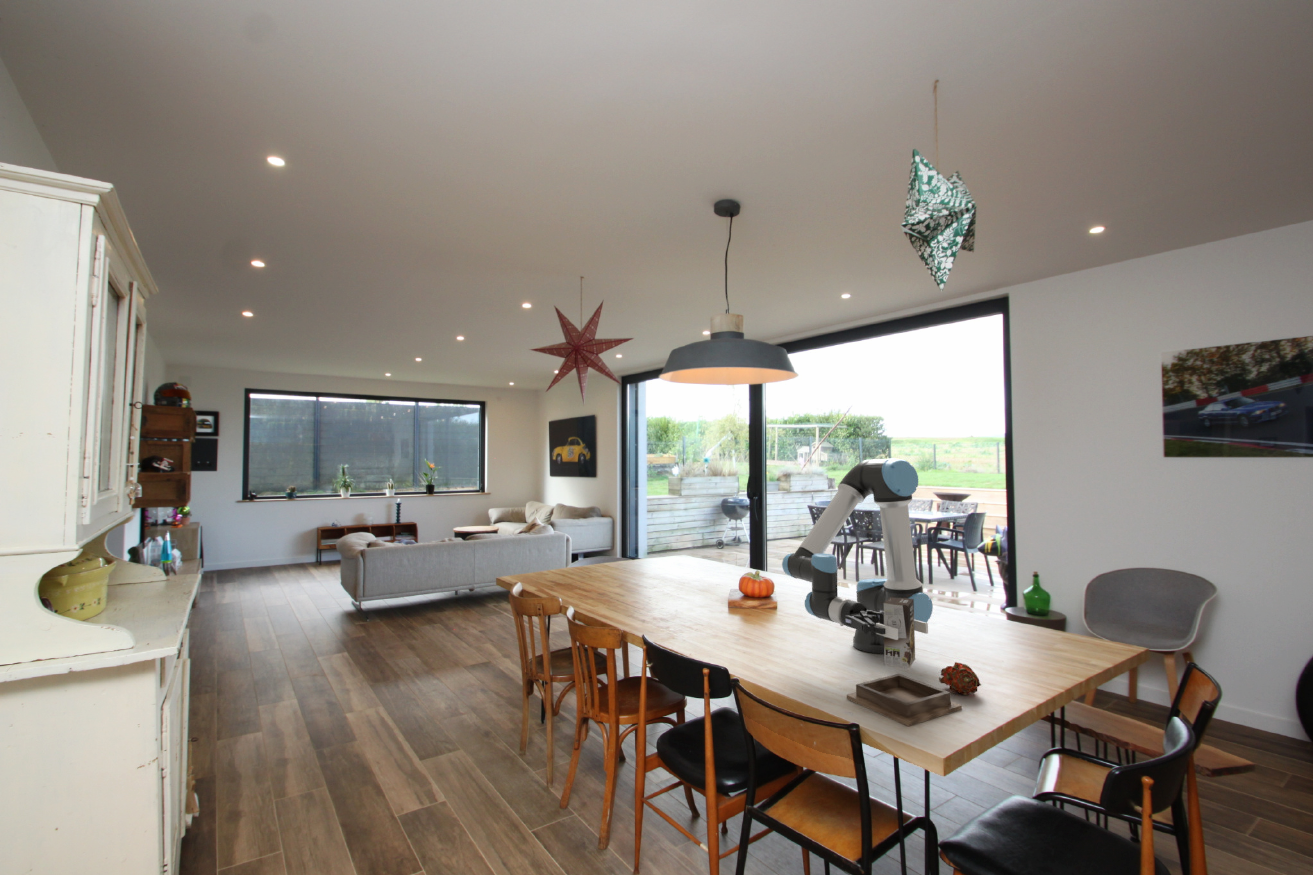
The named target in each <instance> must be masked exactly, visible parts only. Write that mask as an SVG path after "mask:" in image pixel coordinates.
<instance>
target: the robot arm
mask: <svg viewBox="0 0 1313 875" xmlns="http://www.w3.org/2000/svg"><path fill="white" fill-rule="evenodd" d="M918 486H919V475H918V472H917V470H916V469H915V467H914V466H913V464H911V463H910V462H909V461H907V460H904V459H901V458H900V459H899V458H877V459H875V458H868V459H865V460H862V461H861V462H859V463H857V464H856V465H854V466H853V467H852V468H851V469H850V470H849V471H848V472H847V473H846V474H845V476H844V477H843V478H842V479H841V481H840V482H839V483H838V484H837V491H836V493H835V495H834V496H833V497H832V499H831V500H830V502H829V503H828V505H827V506H826V508H825V509H824V510H823V512H822V514H821V515H820V517H819V518H818V520H817V521H816V522H815V523H814V525H813V526H812V528H811V529H810V531H809V532H808V534H807V535H806V537H805V538H804V539H803V541H802V543H800V545H799V546H798V548H797V549H796V550H795V551H794V552H793V553H791V552H790V553H788V554H786V555H785V556H784V557H783V558H782V562H781V566H782V570H783V572H784V573H785V574H786V575H787V576H789V577H791V578H794V579H798V580H803V581H806V582H809V583H811V591H810V592H808V593H807V595H806V596H805V597H806V598H805V600H804V607H805V610H806V611H807V613H808V614H810V615H811V616H814V617H816V618H817V619H821V620H824V621H825V620H826V621H829V622H832V623H837V624H839V626H840V627H844V626H845V627H847V628H848V627H849V628H851V629H854V630H855V632H854V636H853V637H852V638H853V639H852V645H853V647H854V648H855V649H857V650H860V651H861V652H866V653H873V654H884V636H885V637H888V638H891V639H895V640H898V629H897V628H893V627H890V626H887V625H884V604H883V603H884V602H885V601H886V600H887V599H889V598H890V597H893V598H908V599H914V632H918V633H922V634H926V635H927V634H929V623H928V622H929V620H930V619H931V617H932V614H933V609H934V608H933V605H934V604H933V600H932V598H931V597H930V596H929V595H928V593H927V594H926V593H925V592H924V591H923V584H922V582H921V581H920V580H919V579H917V574H916V565H915V564H916V563H915V555H914V547H913V546H914V545H913V537H912V529H911V521H910V512H909V504H910V503H911V502H912V501H913V494H914V493H915V492H916V491H917V488H918ZM870 495H873V502H874V503H875V504H876V505H877V506H878V507H879V513H880V521H881V529H882V531H881V532H882V539H883V540H882V541H883V549H884V557H885V558H884V559H885V565H886V566H885V567H886V573H887V578H868V579H867V578H866V579H861V580H859V581H857V583H856V601H855V600H852V599H849V598H844V597H839V596H838V569H839V568H838V563H837V561H838V559H837V556H836V555H835V554H832V553H825V552H826V551H827V549H828V548H829V547H830V545H831V544H832V541H834V539H835V538H836V536H837V535H838V533H839V532H840V530H841V529H842V527H843V526H844V524H845V523H846V521H847V520H848V518H849V517H850V515H851V514H852V512H853V511H854V510H855V508H856V507H857V506H858V505H859V504H862V503H863V502H864V501H865V500H866V498H867V497H868V496H870Z"/></svg>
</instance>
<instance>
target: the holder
mask: <svg viewBox="0 0 1313 875" xmlns="http://www.w3.org/2000/svg"><path fill="white" fill-rule="evenodd" d="M951 694H952V693H951V691H950V692H949V691H947V690H944V689H942V688H940V687H936V686H933V685H931V684H928V683H926V682H923V681H920V680H917V679H915V678H911V677H909V676H906V675H903V674H901V673H895V674H892V675H887V676H884V677H880V678H876V679H873V680H868V681H865V682H860V683H856V684H855V692H852V693H849V694H846V695H845V696H846V699H847V700H848V701H851V702H854V703H855V704H858V705H860V706H862V707H865V708H867V709H869V710H871V711H873V712H875V713H878V714H880V715H882V716H884V717H887V718H888V719H891V720H893V721H894V722H898V723H899V724H902V725H903V726H906V727H911V726H914V725H918V724H920V723H923V722H926V721H930V720H933V719H936V718H938V717H942V716H945V715H949V714H951V713H954V712H959V711H961V710H963V705H962V704H960V703H959V704H958V703H956V702H954V701H951V700H952V699H951V698H952V697H951Z"/></svg>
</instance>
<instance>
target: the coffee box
mask: <svg viewBox="0 0 1313 875" xmlns="http://www.w3.org/2000/svg"><path fill="white" fill-rule="evenodd" d="M883 604H884V625H887V626H890V627H893V628H897V629H898V640H895V639H891V638H888V637H885V636H884V653H883V654H884V655H883V656H884V659H883V660H884V665H885V666H891V667H896V668H897V667H898V668H904V669H910V668H911V667H912V665H913V664H914V662H915V660H916V641H915V640H916V639H915V638H916V636H915V634H916V633H915V632H916V631H915V630H914V599H908V598H893V597H890V598H889V599H887V600H886V601H885V602H884V603H883Z"/></svg>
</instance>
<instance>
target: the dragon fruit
mask: <svg viewBox="0 0 1313 875" xmlns="http://www.w3.org/2000/svg"><path fill="white" fill-rule="evenodd" d="M938 673H940V675H941V676H942V677H938V679H939V680H938V681H939V683H940V684H944V685H946V686H949V688H948V689H949V691H950V693H959V694H960V695H963V696H969V695H970V694H975V693H977V692H978V688H979V687H980V686H982V683H980V679H979V676H977V673H975V672H974V670H973V669H972V668H971V667H970V666H969V665H968V664H964V663H962V662H957V661H955V662H954V664H953V665H952V666H951V665H949V666H948V665H947V666H946V667H945V668H942V669H941V670H940V671H939V672H938Z"/></svg>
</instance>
